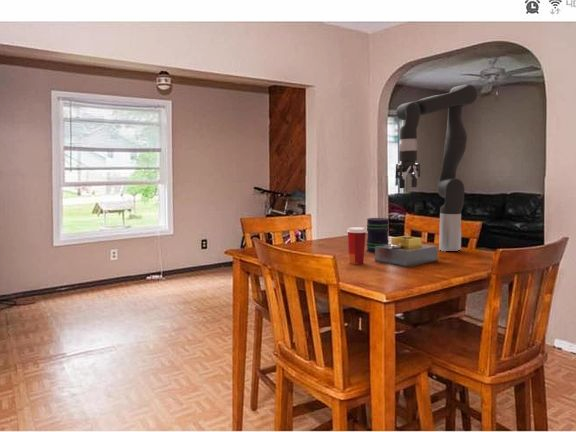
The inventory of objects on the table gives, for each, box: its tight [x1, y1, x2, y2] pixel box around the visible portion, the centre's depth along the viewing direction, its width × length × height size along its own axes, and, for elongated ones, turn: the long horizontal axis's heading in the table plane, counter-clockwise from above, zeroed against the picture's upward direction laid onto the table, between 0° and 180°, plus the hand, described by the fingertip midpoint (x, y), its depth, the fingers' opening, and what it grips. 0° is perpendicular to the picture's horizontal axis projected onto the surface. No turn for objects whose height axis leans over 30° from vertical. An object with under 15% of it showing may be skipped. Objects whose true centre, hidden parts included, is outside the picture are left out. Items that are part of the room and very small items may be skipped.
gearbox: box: [374, 235, 439, 268], centre depth 191 cm, size 20×16×10 cm
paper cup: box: [346, 226, 367, 265], centre depth 187 cm, size 8×8×14 cm
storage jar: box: [366, 217, 390, 254], centre depth 214 cm, size 10×10×15 cm
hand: (408, 187), depth 202 cm, fingers open, 8 cm apart
